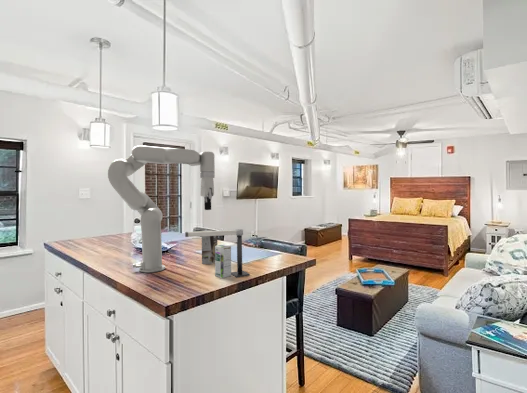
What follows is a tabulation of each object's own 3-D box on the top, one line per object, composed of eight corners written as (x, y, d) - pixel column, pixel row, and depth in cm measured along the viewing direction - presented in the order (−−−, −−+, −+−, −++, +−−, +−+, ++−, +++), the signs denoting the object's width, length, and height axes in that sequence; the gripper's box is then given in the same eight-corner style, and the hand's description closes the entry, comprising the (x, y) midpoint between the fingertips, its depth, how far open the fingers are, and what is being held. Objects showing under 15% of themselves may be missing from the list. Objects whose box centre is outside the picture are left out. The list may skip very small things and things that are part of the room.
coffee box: (212, 264, 173) (212, 235, 172) (201, 264, 174) (201, 234, 174) (218, 260, 182) (217, 232, 181) (207, 260, 183) (207, 232, 182)
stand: (236, 277, 147) (235, 237, 146) (230, 274, 153) (229, 235, 152) (249, 275, 150) (249, 235, 150) (243, 272, 156) (242, 233, 156)
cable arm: (242, 234, 153) (242, 229, 153) (243, 235, 150) (243, 230, 149) (185, 236, 148) (185, 231, 148) (185, 237, 145) (185, 232, 145)
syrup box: (214, 276, 150) (214, 245, 150) (224, 273, 154) (224, 244, 154) (221, 278, 146) (221, 247, 146) (231, 275, 150) (231, 245, 150)
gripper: (196, 175, 172) (197, 209, 173) (204, 174, 159) (204, 211, 160) (210, 175, 176) (210, 208, 176) (218, 174, 162) (219, 210, 163)
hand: (207, 209), depth 168 cm, fingers closed
